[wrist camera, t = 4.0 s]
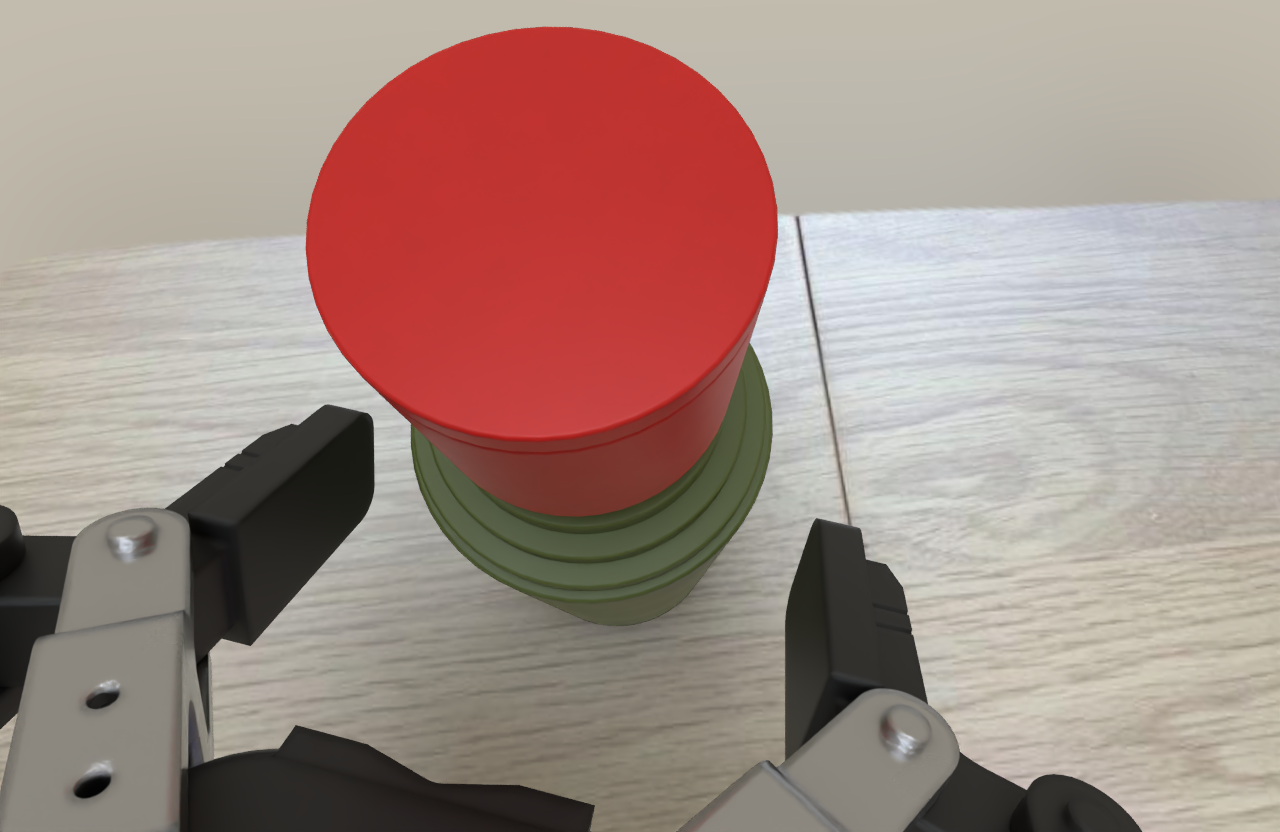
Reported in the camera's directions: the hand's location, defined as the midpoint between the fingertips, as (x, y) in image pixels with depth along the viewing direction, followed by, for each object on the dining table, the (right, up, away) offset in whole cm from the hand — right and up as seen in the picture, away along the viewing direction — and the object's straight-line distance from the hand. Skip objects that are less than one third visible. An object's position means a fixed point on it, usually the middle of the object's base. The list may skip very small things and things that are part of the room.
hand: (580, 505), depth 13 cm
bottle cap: (0, +2, -3) cm, 4 cm away
